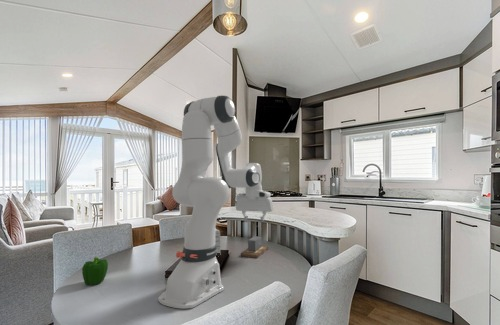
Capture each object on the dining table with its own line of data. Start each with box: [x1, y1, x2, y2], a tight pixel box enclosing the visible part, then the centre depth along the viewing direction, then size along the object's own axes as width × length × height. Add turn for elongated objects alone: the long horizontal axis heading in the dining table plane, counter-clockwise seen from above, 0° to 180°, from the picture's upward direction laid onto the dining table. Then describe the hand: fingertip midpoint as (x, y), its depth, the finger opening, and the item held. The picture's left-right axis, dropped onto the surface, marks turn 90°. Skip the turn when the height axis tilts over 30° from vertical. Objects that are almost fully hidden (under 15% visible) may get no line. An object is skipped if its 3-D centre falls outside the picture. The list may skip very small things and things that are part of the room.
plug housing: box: [247, 235, 263, 252], centre depth 125 cm, size 9×4×6 cm, turn 156°
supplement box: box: [215, 228, 221, 254], centre depth 122 cm, size 7×7×13 cm
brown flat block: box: [240, 245, 269, 259], centre depth 125 cm, size 16×9×6 cm, turn 156°
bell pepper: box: [81, 256, 109, 286], centre depth 92 cm, size 8×8×10 cm
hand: (254, 219), depth 126 cm, fingers open, 8 cm apart
